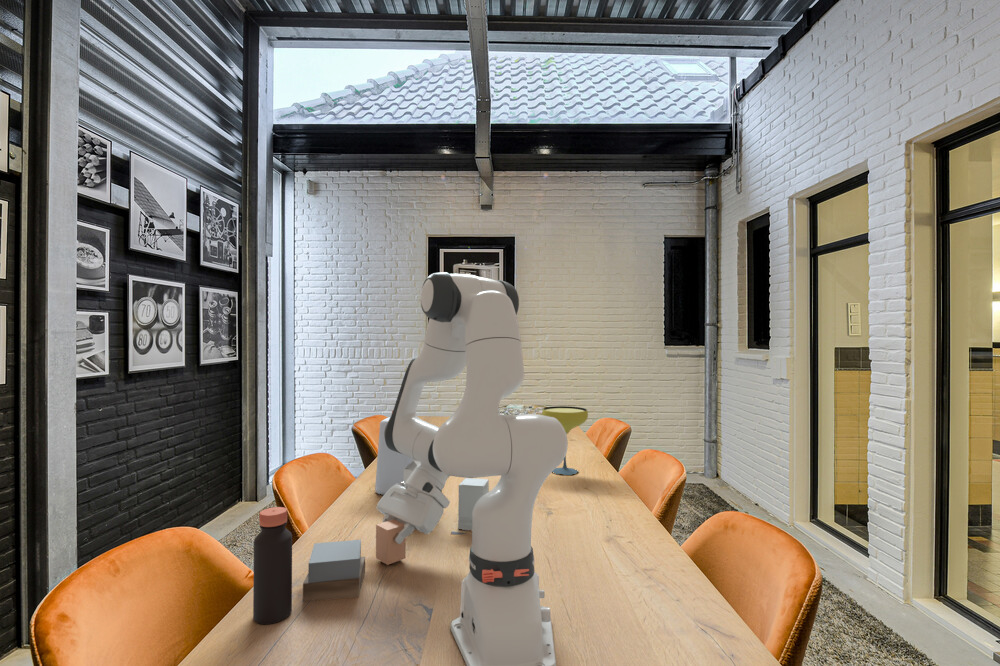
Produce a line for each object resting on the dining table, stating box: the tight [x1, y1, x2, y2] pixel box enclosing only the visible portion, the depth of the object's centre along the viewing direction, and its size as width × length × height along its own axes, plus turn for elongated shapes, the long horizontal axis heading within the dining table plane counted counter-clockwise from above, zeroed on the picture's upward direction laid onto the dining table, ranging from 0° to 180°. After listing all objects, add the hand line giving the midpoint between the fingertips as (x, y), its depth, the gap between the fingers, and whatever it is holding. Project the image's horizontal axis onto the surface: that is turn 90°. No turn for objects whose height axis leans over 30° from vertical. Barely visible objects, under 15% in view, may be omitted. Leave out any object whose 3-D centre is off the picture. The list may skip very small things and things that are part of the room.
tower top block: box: [307, 539, 362, 583], centre depth 106 cm, size 10×10×4 cm
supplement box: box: [457, 478, 490, 531], centre depth 140 cm, size 7×7×13 cm
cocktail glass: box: [541, 405, 589, 476], centre depth 197 cm, size 18×18×25 cm
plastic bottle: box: [374, 410, 421, 496], centre depth 173 cm, size 15×15×28 cm
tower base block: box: [302, 556, 366, 602], centre depth 106 cm, size 11×11×4 cm
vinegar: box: [252, 506, 293, 625], centre depth 95 cm, size 7×7×20 cm
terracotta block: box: [375, 519, 407, 566], centre depth 118 cm, size 5×5×8 cm
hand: (388, 538), depth 117 cm, fingers closed on terracotta block, 5 cm apart
